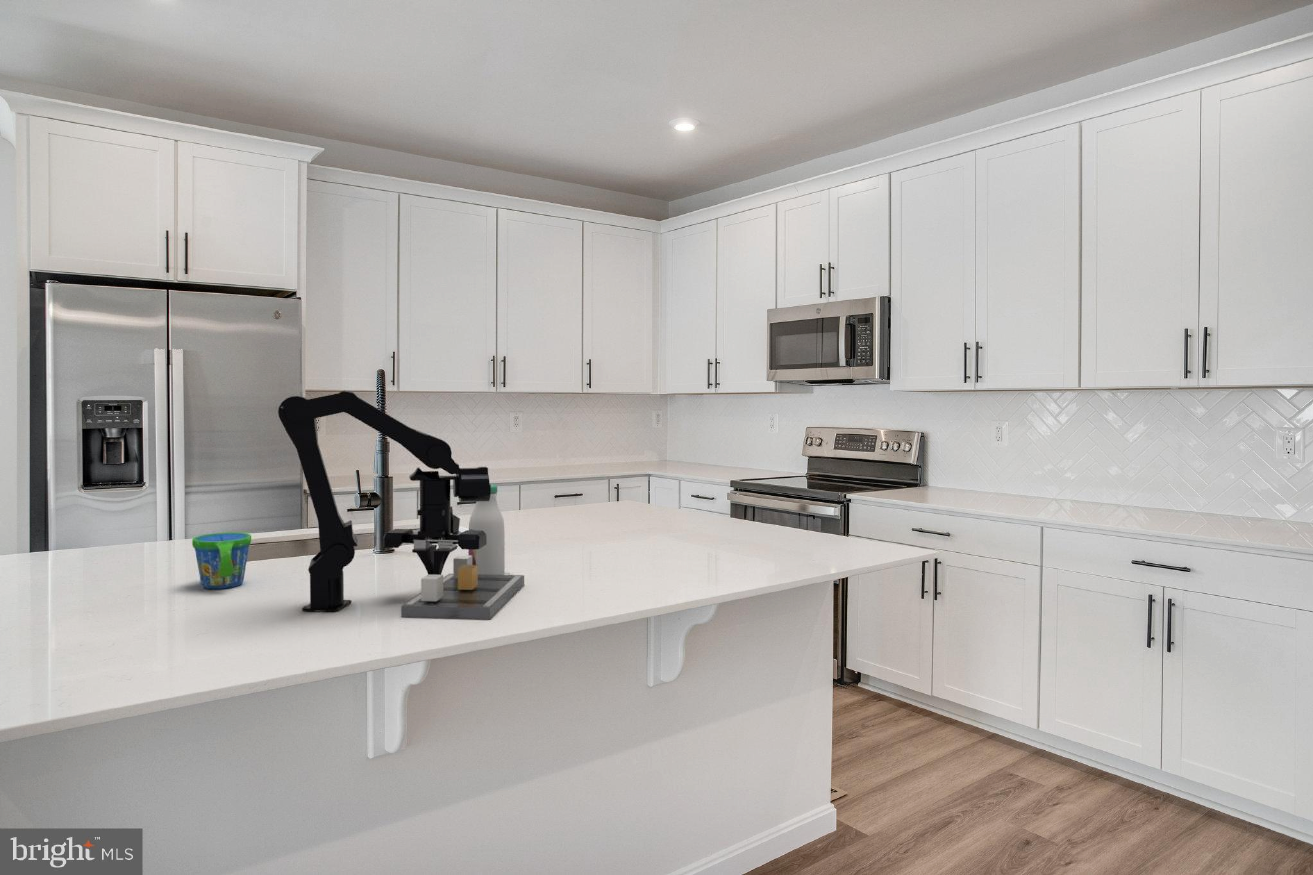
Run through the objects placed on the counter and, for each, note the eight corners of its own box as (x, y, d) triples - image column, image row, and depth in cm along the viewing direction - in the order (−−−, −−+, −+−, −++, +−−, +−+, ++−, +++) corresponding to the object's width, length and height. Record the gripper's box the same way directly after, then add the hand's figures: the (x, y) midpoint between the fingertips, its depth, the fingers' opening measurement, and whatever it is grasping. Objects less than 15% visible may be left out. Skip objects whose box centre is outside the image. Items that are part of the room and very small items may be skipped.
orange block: (472, 589, 148) (472, 568, 148) (457, 589, 148) (457, 568, 148) (477, 585, 152) (477, 564, 152) (463, 584, 152) (463, 564, 152)
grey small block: (436, 601, 139) (436, 579, 139) (421, 600, 140) (421, 578, 139) (443, 596, 143) (443, 574, 143) (428, 595, 143) (428, 574, 143)
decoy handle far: (467, 578, 157) (466, 558, 157) (453, 578, 158) (453, 558, 157) (472, 574, 161) (472, 555, 161) (459, 574, 161) (459, 555, 161)
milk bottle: (508, 573, 174) (508, 484, 173) (498, 580, 166) (498, 487, 165) (475, 571, 174) (475, 483, 173) (463, 579, 167) (463, 487, 166)
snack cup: (252, 591, 155) (251, 540, 154) (190, 597, 150) (189, 544, 150) (251, 575, 169) (251, 529, 168) (195, 580, 164) (194, 532, 163)
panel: (490, 619, 137) (490, 607, 137) (401, 617, 138) (401, 605, 138) (524, 584, 163) (524, 575, 163) (449, 582, 164) (449, 573, 163)
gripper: (494, 498, 157) (494, 575, 158) (403, 497, 158) (404, 573, 159) (478, 506, 146) (478, 588, 147) (381, 504, 147) (381, 585, 148)
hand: (435, 583), depth 150 cm, fingers closed
